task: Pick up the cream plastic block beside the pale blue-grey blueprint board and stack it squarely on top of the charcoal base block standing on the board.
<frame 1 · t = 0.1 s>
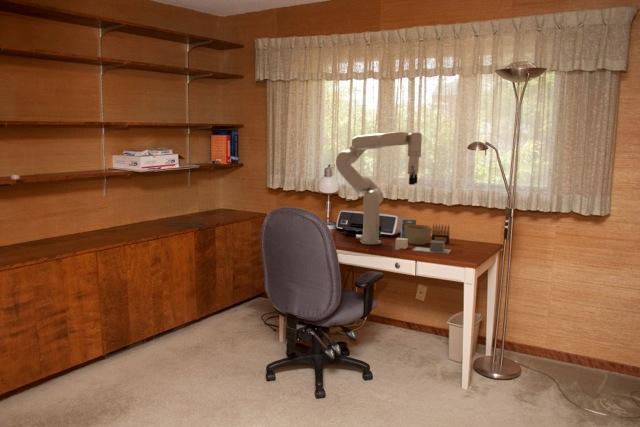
hand: (412, 184, 326), 37 cm above the table, tool pointing down, fingers open, 9 cm apart
label tape box: (407, 238, 357), on the table
cream block: (401, 249, 322), on the table
ammunition clip: (440, 243, 343), on the table
planter bowl: (417, 245, 337), on the table
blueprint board: (431, 251, 316), on the table
charcoal base block: (437, 250, 315), point 1 cm above the table, touching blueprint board
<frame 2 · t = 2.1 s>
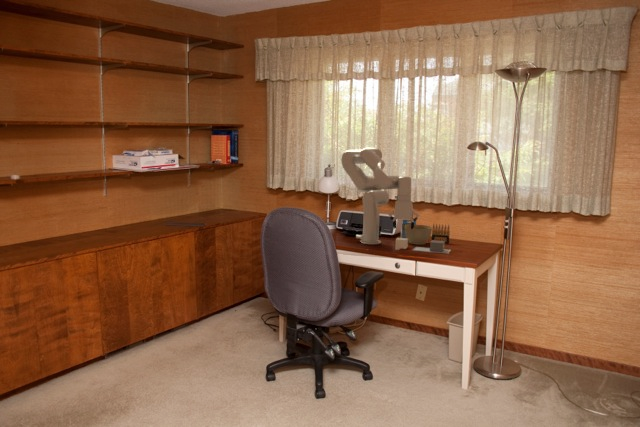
hand: (403, 228, 320), 12 cm above the table, tool pointing down, fingers open, 9 cm apart
nothing on the table moved.
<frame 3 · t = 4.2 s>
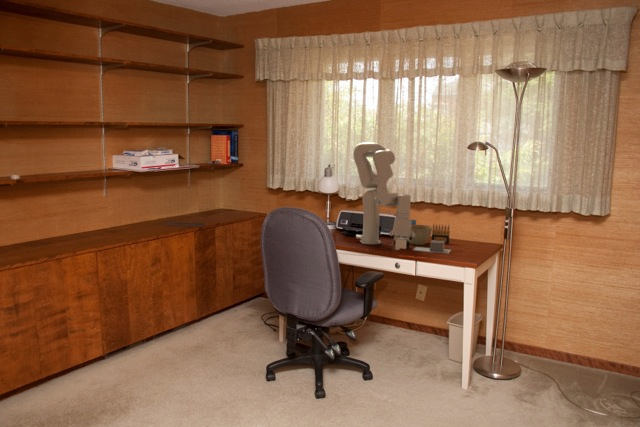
hand: (401, 247, 322), 1 cm above the table, tool pointing down, fingers closed on cream block, 6 cm apart
cream block: (401, 249, 322), on the table, touching gripper
everything else where it was.
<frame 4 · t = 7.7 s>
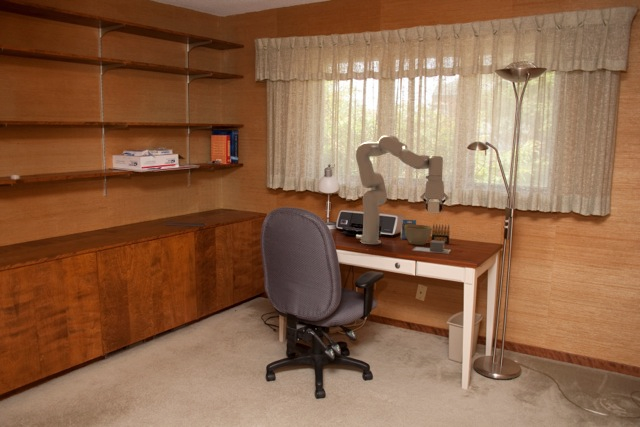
hand: (434, 210, 313), 23 cm above the table, tool pointing down, fingers closed on cream block, 6 cm apart
cream block: (433, 212, 313), point 22 cm above the table, touching gripper
everything else where it was.
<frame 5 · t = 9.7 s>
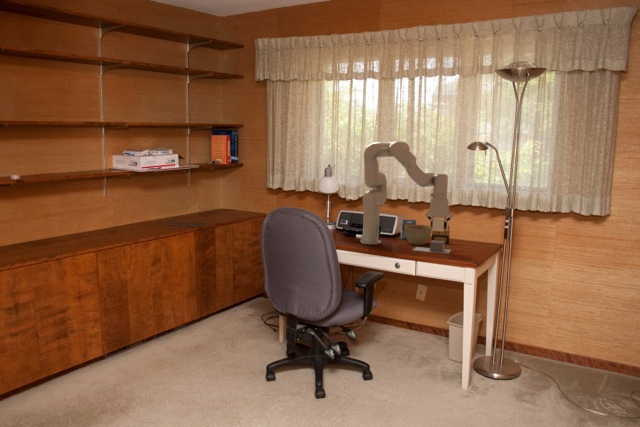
hand: (438, 228, 314), 14 cm above the table, tool pointing down, fingers closed on cream block, 6 cm apart
cream block: (438, 230, 314), point 12 cm above the table, touching gripper
everything else where it was.
when the fingers open (9 cm above the table, at t = 11.6 s): cream block drops 1 cm, resting on charcoal base block.
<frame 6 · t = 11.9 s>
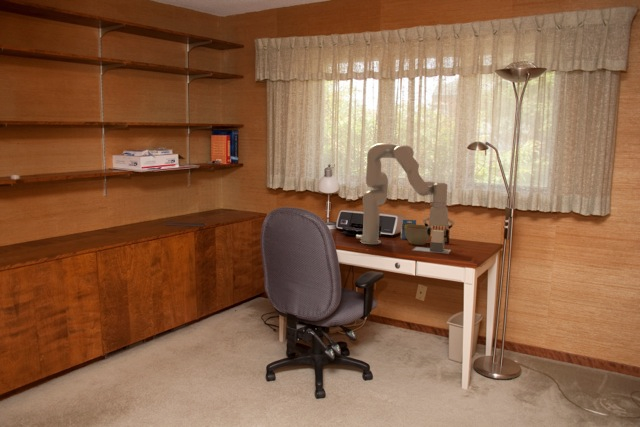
hand: (437, 235, 314), 9 cm above the table, tool pointing down, fingers open, 9 cm apart
cream block: (437, 241, 315), point 6 cm above the table, touching charcoal base block
charcoal base block: (437, 250, 315), point 1 cm above the table, touching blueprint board, cream block
everything else where it was.
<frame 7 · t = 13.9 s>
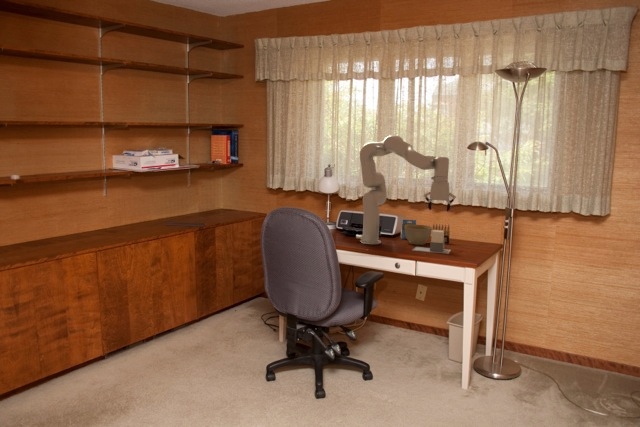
hand: (438, 210, 313), 24 cm above the table, tool pointing down, fingers open, 9 cm apart
nothing on the table moved.
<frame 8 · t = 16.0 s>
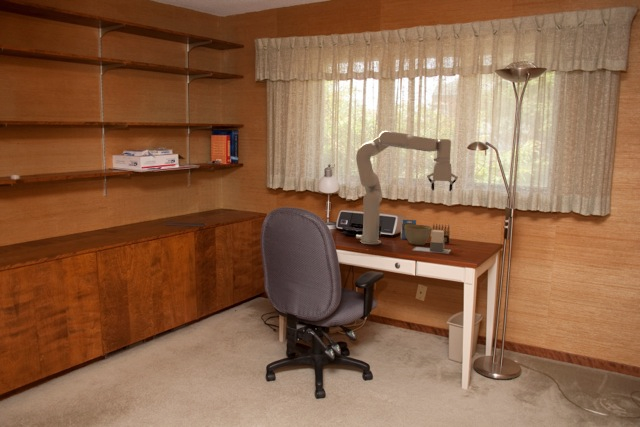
hand: (441, 190, 324), 33 cm above the table, tool pointing down, fingers open, 9 cm apart
nothing on the table moved.
at the end: cream block 0.1 cm off-centre on the charcoal base block, point 5.0 cm above the charcoal base block's base; cream block tilted 0°; the gripper is holding nothing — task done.
